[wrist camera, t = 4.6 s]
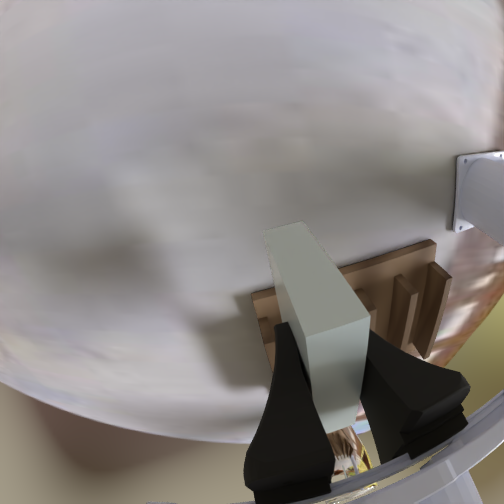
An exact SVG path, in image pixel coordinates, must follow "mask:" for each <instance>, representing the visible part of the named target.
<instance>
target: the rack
mask: <svg viewBox="0 0 504 504" xmlns="http://www.w3.org/2000/svg"><path fill="white" fill-rule="evenodd" d="M436 246H437V243H435V242H434V241H433V240H431V239H429V240H426V241H423V242H420V243H418V244H415V245H412V246H409V247H406V248H403V249H400V250H397V251H394V252H391V253H387V254H384V255H381V256H378V257H375V258H372V259H369V260H366V261H362V262H359V263H356V264H353V265H349V266H346V267H343V268H340V269H338V270H339V271H340V272H341V274H342V275H343V277H344V278H345V279H346V281H347V282H348V284H349V285H350V286H351V288H352V289H353V291H354V292H355V294H356V295H357V297H358V298H359V299H360V301H361V302H362V304H363V305H364V307H365V308H366V310H367V311H368V313H369V314H370V316H371V317H370V329H371V330H372V331H374V332H375V333H376V334H378V335H379V336H380V337H382V338H383V339H385V340H386V341H388V342H389V343H391V344H392V345H394V346H396V347H397V348H399V349H401V350H402V351H404V352H406V353H410V352H412V351H414V350H415V347H416V349H417V350H418V352H419V353H420V355H421V356H422V358H423V359H426V358H428V357H429V356H430V353H431V350H432V347H433V344H434V341H435V339H436V336H437V332H438V329H439V326H440V323H441V320H442V316H443V313H444V309H445V306H446V302H447V298H448V294H449V290H450V286H451V281H452V277H451V276H450V275H449V274H448V273H447V272H446V271H445V270H444V269H443V268H442V267H440V266H439V265H438V264H437V263H436V262H435V261H434V260H435V253H436ZM251 296H252V300H253V304H254V307H255V311H256V314H257V317H258V321H259V326H260V330H261V334H262V338H263V342H264V346H265V349H266V353H267V356H268V359H269V362H270V366H271V369H272V372H273V371H274V363H275V332H274V326H275V325H276V324H280V323H282V319H281V314H280V309H279V304H278V300H277V295H276V290H275V287H274V288H270V289H267V290H263V291H259V292H255V293H252V294H251Z"/></svg>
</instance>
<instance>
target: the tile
mask: <svg viewBox="0 0 504 504" xmlns="http://www.w3.org/2000/svg"><path fill="white" fill-rule="evenodd" d="M263 236H264V240H265V245H266V249H267V254H268V258H269V263H270V267H271V272H272V277H273V281H274V286H275V290H276V295H277V300H278V304H279V309H280V314H281V319H282V323H284V322H287V321H288V323H289V325H290V328H291V330H292V333H293V335H294V338H295V343H296V347H297V351H298V356H299V360H300V365H301V369H302V372H303V376H304V378H305V381H306V384H307V386H308V389H309V392H310V394H311V397H312V400H313V402H314V405H315V407H316V410H317V412H318V415H319V417H320V420H321V422H322V425H323V427H324V430H325V432H326V434H327V433H331V432H334V431H337V430H340V429H342V428H345V427H348V426H351V425H354V424H355V420H356V415H357V410H358V405H359V399H360V394H361V388H362V382H363V376H364V369H365V362H366V355H367V347H368V338H369V328H370V317H371V316H370V314H369V313H368V311H367V310H366V308H365V307H364V305H363V304H362V302H361V301H360V299H359V298H358V297H357V295H356V294H355V292H354V291H353V289H352V288H351V286H350V285H349V284H348V282H347V281H346V279H345V278H344V277H343V275H342V274H341V272H340V271H339V270H338V268H337V267H336V265H335V264H334V263H333V261H332V260H331V258H330V257H329V256H328V254H327V253H326V252H325V250H324V249H323V248H322V246H321V245H320V244H319V242H318V241H317V239H316V238H315V237H314V235H313V234H312V233H311V232H310V230H309V229H308V228H307V226H306V225H305V224H304V222H303V221H300V222H296V223H292V224H288V225H284V226H280V227H276V228H272V229H268V230H264V231H263Z"/></svg>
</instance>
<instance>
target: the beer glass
mask: <svg viewBox="0 0 504 504" xmlns="http://www.w3.org/2000/svg"><path fill="white" fill-rule="evenodd" d="M327 437H328V439H329V441H330V444H331V446H332V449H333V452H334V455H335V458H336V461H335V468H334V474H332V480H331V482H332V483H334V482H337V481H340V480H343V479H346V478H349V477H352V476H354V475H357V474H360V473H362V472H365V471H367V470H370V469H372V468H373V466H372V463H371V460H370V458H369V455H368V453H367V451H366V449H365V447H364V445H363V444H362V442H361V441H360V439H359V438H358V436H357V434H356V433H355V431H354V430H353V428H352V427H351V426H348V427H345V428H342V429H340V430H337V431H334V432H331V433H327ZM377 487H378V483H377V482H376V483H373V484H371V485H368V486H366V487H363V488H361V489H358V490H355V491H352V492H350V493H347V494H344V495H341V496H338V497H334V498H331V499H328V500H325V503H326V504H337V503H340V502H344V501H347V500H350V499H353V498H356V497H358V496H361V495H363V494H365V493H367V492H370V491H372V490H374V489H375V488H377Z"/></svg>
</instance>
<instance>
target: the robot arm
mask: <svg viewBox="0 0 504 504" xmlns="http://www.w3.org/2000/svg"><path fill="white" fill-rule="evenodd" d="M472 227H476V228H478V229H479V230H481V231H482V232H484V233H485V234H487V235H488V236H490V237H491V238H492V239H494V240H495V241H497V242H498V243H499V244H501V245H502V246H504V151H494V152H485V153H477V154H469V155H461V156H459V157H458V158H457V178H456V198H455V211H454V221H453V232H455V233H459V232H461V231H464V230H467V229H469V228H472ZM274 332H275V363H274V371H273V378H272V383H271V388H270V392H269V397H268V400H267V404H266V407H265V410H264V413H263V416H262V419H261V421H260V424H259V426H258V429H257V431H256V434H255V436H254V438H253V440H252V442H251V444H250V446H249V448H248V450H247V452H246V457H245V463H244V480H245V485H246V487H248V488H249V489H251V490H252V491H253V492H254V498H255V501H249V502H242V503H232V504H313V503H317V502H321V501H324V500H328V499H331V498H334V497H338V496H341V495H344V494H347V493H350V492H352V491H355V490H358V489H361V488H363V487H366V486H368V485H371V484H373V483H376V482H378V481H381V480H383V479H385V478H388V477H390V476H392V475H394V474H396V473H398V472H400V471H403V470H405V469H406V468H408V467H410V466H413V465H414V464H416V463H418V462H420V461H422V460H424V459H426V458H427V457H429V456H431V455H432V454H434V453H436V452H438V451H439V450H441V449H443V448H444V447H446V446H447V447H446V448H444V449H443V450H442V451H440V452H439V453H437V454H436V455H434V456H433V457H432V458H431V459H430V460H429V461H428V462H427V463H426V464H424V465H423V466H422V467H421V468H420V471H418V472H416V473H414V474H412V475H410V476H408V477H406V478H404V479H402V480H400V481H398V482H396V483H393V484H391V485H389V486H387V487H385V488H382V489H380V490H378V491H376V492H373V493H371V494H368V495H366V496H363V497H361V498H358V499H356V500H353V501H350V502H348V503H345V504H483V503H482V500H481V498H480V496H479V493H478V491H477V489H476V487H475V484H474V482H473V480H472V478H471V476H470V474H469V472H468V470H469V469H470V468H472V467H473V466H475V465H476V464H477V463H478V462H480V461H481V460H482V459H484V458H485V457H486V456H487V455H488V454H490V453H491V452H492V451H493V450H494V449H495V448H497V447H498V446H499V445H500V444H501V443H502V442H504V389H503V390H502V391H501V392H500V393H499V394H497V395H496V396H495V397H494V398H492V399H491V400H490V401H488V402H487V403H486V404H485V405H483V406H482V407H481V408H479V409H478V410H477V411H475V412H474V413H472V414H471V415H470V416H468V417H467V418H465V416H464V415H463V413H462V412H463V411H464V409H463V407H462V405H461V403H462V402H463V400H464V399H465V398H466V396H467V395H468V393H469V391H470V385H469V384H468V382H467V381H466V379H465V378H464V377H463V376H462V374H461V373H460V372H457V371H453V370H449V369H445V368H442V367H439V366H436V365H433V364H430V363H428V362H425V361H423V360H421V359H418V358H416V357H414V356H412V355H410V354H408V353H406V352H404V351H402V350H401V349H399V348H397V347H396V346H394V345H392V344H391V343H389V342H388V341H386V340H385V339H383V338H382V337H380V336H379V335H378V334H376V333H375V332H374V331H372V330H371V329H370V328H369V338H368V347H367V355H366V362H365V369H364V376H363V382H362V388H361V394H360V400H361V403H362V406H363V408H364V411H365V414H366V417H367V419H368V422H369V425H370V428H371V431H372V434H373V437H374V441H375V444H376V448H377V451H378V454H379V459H380V463H381V465H380V466H377V467H375V468H372V469H370V470H367V471H365V472H362V473H360V474H357V475H354V476H352V477H349V478H346V479H343V480H340V481H337V482H334V483H332V482H331V480H332V474H334V468H335V461H336V458H335V455H334V452H333V449H332V446H331V444H330V441H329V439H328V437H327V434H326V432H325V430H324V427H323V425H322V422H321V420H320V417H319V415H318V412H317V410H316V407H315V405H314V402H313V400H312V397H311V394H310V392H309V389H308V386H307V384H306V381H305V378H304V376H303V372H302V369H301V365H300V360H299V356H298V351H297V347H296V343H295V338H294V335H293V333H292V330H291V328H290V325H289V323H288V321H287V322H284V323H280V324H276V325H275V326H274ZM146 504H176V503H165V502H147V503H146Z"/></svg>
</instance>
